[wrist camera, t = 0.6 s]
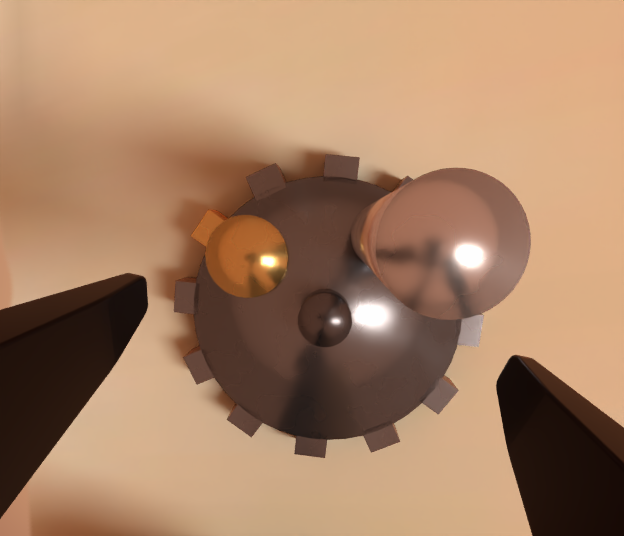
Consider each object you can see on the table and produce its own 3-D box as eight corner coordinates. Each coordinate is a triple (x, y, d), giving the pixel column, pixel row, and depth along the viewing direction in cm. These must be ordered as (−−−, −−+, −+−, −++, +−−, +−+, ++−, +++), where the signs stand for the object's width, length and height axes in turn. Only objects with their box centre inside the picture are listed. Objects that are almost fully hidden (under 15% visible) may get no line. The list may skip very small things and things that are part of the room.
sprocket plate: (449, 458, 22) (467, 495, 19) (177, 423, 23) (153, 454, 20) (494, 175, 20) (523, 166, 17) (194, 146, 21) (170, 133, 18)
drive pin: (413, 271, 20) (516, 328, 9) (347, 264, 20) (366, 310, 9) (422, 204, 19) (543, 175, 8) (354, 198, 19) (385, 160, 8)
